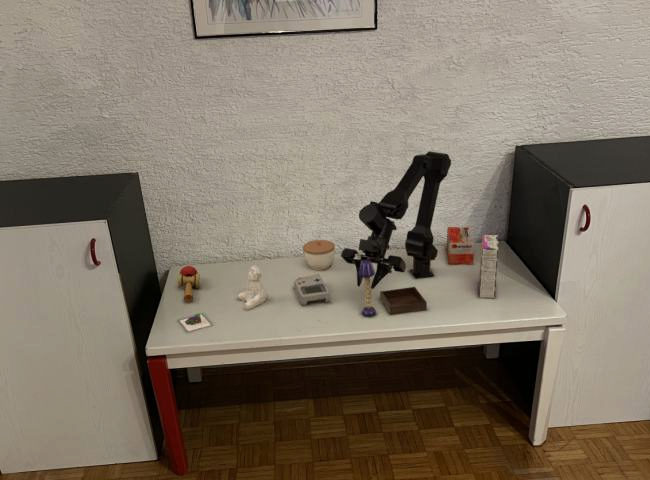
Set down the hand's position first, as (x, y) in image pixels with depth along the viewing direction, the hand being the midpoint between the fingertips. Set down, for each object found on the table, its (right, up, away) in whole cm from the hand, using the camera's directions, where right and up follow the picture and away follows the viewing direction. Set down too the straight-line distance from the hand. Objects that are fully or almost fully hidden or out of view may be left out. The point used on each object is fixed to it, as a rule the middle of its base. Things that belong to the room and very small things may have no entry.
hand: (365, 287), depth 200 cm
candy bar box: (+39, 0, +15) cm, 42 cm away
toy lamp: (+1, -7, +6) cm, 9 cm away
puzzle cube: (-50, -10, +7) cm, 52 cm away
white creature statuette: (-33, -3, +17) cm, 38 cm away
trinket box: (-13, +10, +38) cm, 41 cm away
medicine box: (+35, +14, +39) cm, 55 cm away
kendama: (-55, +1, +26) cm, 61 cm away
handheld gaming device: (-16, -1, +19) cm, 24 cm away
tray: (+12, -4, +10) cm, 16 cm away
